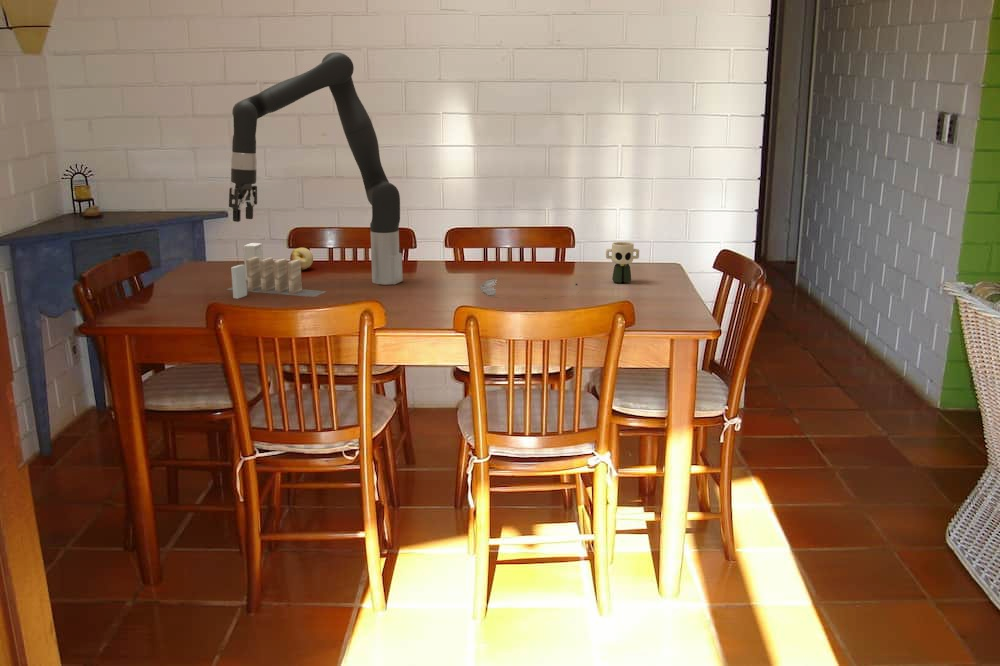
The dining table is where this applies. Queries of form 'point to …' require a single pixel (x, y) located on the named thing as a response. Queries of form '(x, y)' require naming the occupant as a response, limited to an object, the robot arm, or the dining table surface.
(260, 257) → the skincare box
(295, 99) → the robot arm
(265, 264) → the domino
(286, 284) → the domino
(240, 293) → the domino
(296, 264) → the domino
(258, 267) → the domino
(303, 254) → the fruit
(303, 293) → the mat
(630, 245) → the character mug
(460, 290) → the dining table surface
